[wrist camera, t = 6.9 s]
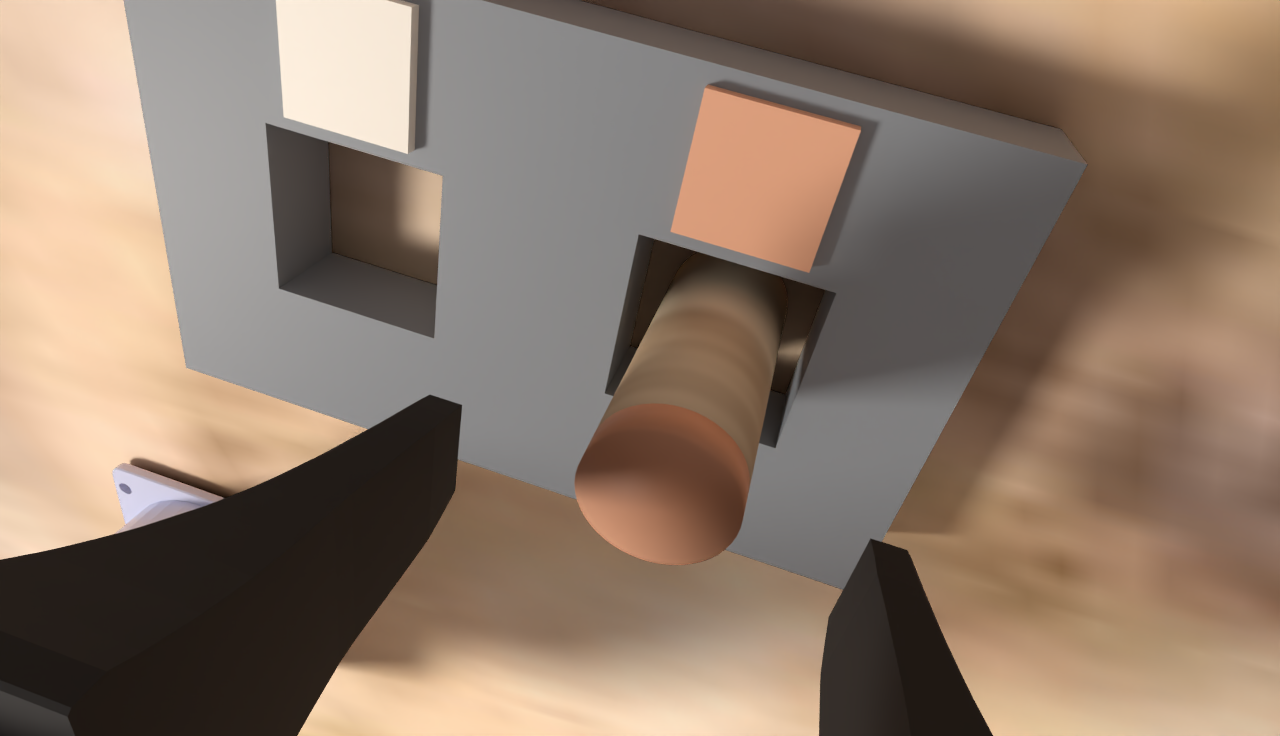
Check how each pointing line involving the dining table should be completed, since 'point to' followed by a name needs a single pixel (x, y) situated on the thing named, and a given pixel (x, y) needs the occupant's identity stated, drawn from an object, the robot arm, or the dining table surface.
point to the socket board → (587, 230)
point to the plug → (687, 417)
